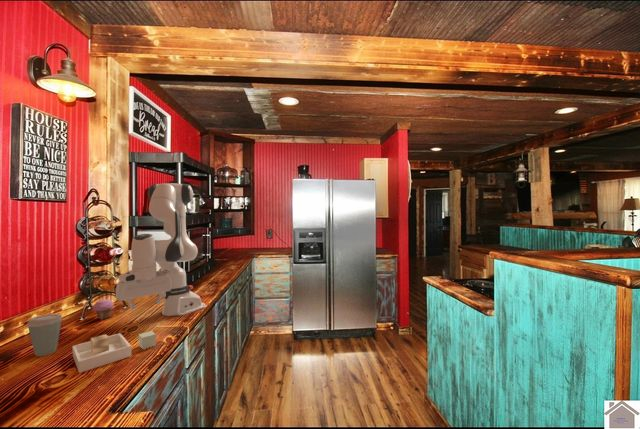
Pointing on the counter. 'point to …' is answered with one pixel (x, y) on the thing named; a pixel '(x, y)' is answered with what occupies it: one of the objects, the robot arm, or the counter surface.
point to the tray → (89, 360)
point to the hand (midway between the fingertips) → (145, 306)
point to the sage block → (147, 340)
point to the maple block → (99, 344)
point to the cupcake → (103, 308)
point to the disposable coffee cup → (44, 333)
